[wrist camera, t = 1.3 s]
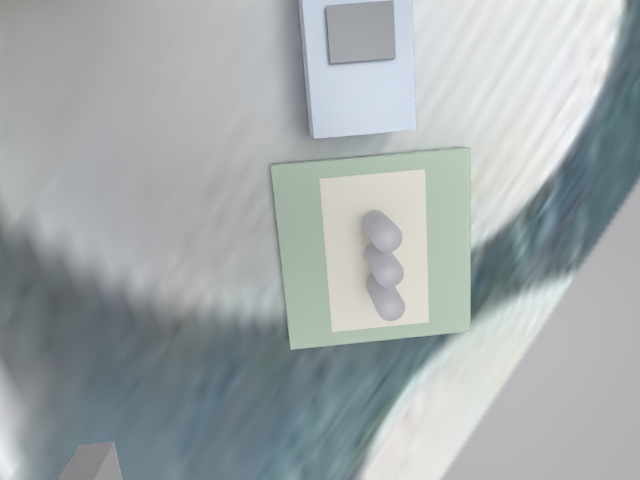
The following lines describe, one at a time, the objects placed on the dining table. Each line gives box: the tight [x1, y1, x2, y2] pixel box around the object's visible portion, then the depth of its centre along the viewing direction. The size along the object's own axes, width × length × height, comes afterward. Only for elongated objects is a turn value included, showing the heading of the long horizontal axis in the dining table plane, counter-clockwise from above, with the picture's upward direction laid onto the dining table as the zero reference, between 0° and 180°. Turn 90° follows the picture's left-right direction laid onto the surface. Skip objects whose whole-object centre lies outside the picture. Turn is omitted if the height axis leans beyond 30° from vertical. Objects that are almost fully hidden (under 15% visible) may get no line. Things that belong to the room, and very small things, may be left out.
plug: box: [298, 0, 416, 139], centre depth 24 cm, size 9×5×7 cm, turn 5°
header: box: [271, 147, 470, 350], centre depth 27 cm, size 12×12×5 cm
